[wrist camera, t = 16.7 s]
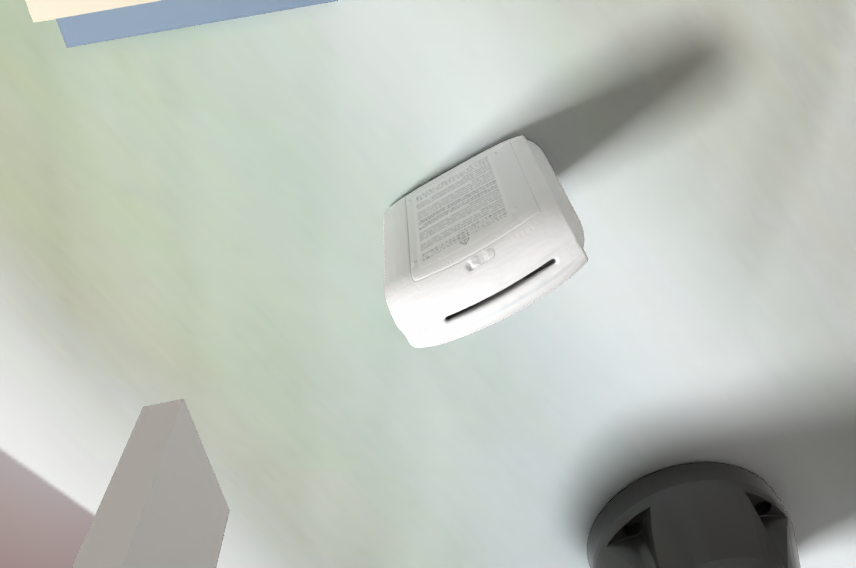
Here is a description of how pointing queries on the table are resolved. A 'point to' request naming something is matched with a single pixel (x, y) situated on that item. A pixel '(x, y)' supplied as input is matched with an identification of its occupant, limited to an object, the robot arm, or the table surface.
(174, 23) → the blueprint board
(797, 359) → the table surface
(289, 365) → the table surface
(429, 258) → the photo printer
